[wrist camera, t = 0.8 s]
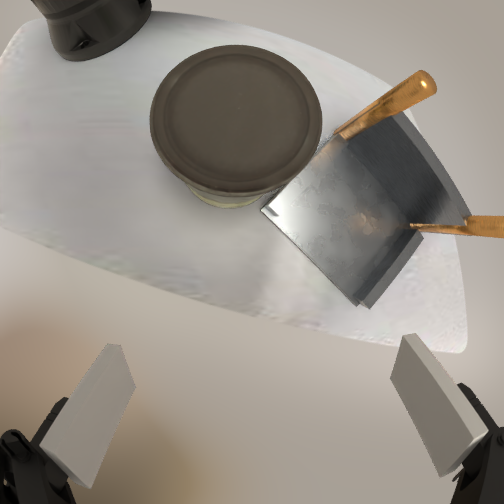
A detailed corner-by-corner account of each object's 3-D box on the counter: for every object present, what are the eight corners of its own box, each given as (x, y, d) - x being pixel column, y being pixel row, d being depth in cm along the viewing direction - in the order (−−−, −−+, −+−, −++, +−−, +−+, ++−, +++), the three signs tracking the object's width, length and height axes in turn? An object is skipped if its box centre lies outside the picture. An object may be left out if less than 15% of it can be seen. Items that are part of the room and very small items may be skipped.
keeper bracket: (258, 208, 29) (303, 192, 13) (340, 125, 29) (422, 66, 13) (355, 306, 32) (443, 361, 16) (420, 223, 32) (516, 228, 16)
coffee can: (173, 128, 27) (142, 62, 13) (265, 111, 28) (298, 39, 14) (190, 219, 28) (164, 215, 15) (286, 198, 29) (340, 179, 15)
